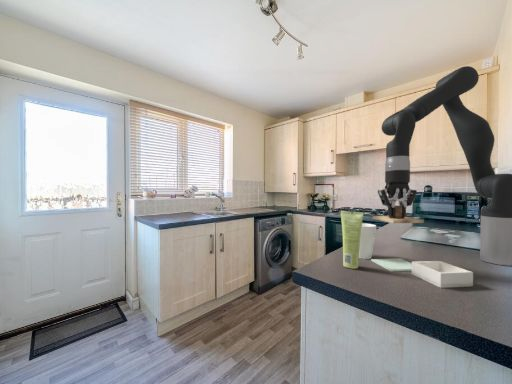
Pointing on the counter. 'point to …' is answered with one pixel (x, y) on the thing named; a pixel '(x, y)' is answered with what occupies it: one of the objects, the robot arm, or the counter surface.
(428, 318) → the counter surface
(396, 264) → the mat
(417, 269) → the dish
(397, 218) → the lid
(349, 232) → the tube
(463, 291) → the counter surface
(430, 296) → the counter surface
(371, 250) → the foam cup
